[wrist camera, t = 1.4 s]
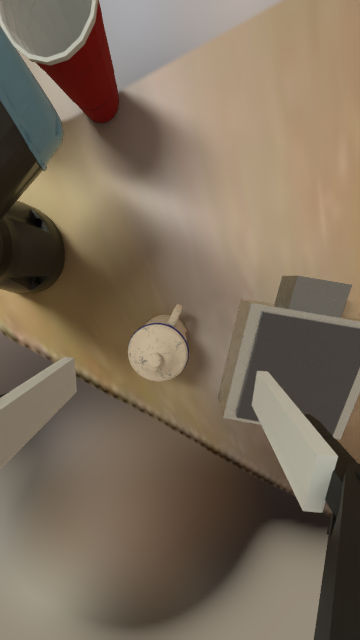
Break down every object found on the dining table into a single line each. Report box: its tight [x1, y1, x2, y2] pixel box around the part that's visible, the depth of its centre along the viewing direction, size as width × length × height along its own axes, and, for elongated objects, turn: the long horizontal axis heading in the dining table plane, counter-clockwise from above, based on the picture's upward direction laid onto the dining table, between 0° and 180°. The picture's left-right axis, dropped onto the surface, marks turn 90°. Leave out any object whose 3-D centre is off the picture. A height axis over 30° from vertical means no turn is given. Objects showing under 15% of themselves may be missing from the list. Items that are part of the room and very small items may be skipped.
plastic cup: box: [0, 0, 119, 123], centre depth 24 cm, size 11×11×12 cm
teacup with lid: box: [128, 304, 189, 382], centre depth 31 cm, size 12×9×12 cm
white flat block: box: [218, 276, 360, 439], centre depth 33 cm, size 20×25×7 cm
